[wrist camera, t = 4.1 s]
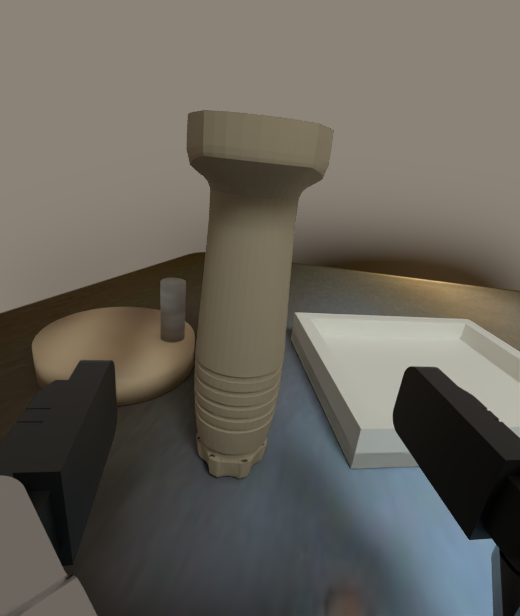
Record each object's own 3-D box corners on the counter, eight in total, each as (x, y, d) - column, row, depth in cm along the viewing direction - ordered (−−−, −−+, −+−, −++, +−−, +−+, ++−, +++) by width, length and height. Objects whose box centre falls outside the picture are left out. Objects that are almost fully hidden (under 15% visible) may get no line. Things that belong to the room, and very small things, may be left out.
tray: (351, 469, 19) (361, 429, 18) (290, 339, 31) (294, 312, 30) (613, 459, 21) (634, 424, 20) (459, 344, 34) (468, 319, 33)
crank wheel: (4, 407, 20) (-15, 305, 18) (66, 327, 29) (59, 253, 27) (191, 406, 22) (195, 313, 20) (195, 331, 31) (198, 261, 29)
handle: (167, 511, 15) (172, 104, 10) (192, 412, 21) (203, 124, 16) (282, 518, 16) (351, 125, 10) (275, 419, 22) (315, 137, 16)
